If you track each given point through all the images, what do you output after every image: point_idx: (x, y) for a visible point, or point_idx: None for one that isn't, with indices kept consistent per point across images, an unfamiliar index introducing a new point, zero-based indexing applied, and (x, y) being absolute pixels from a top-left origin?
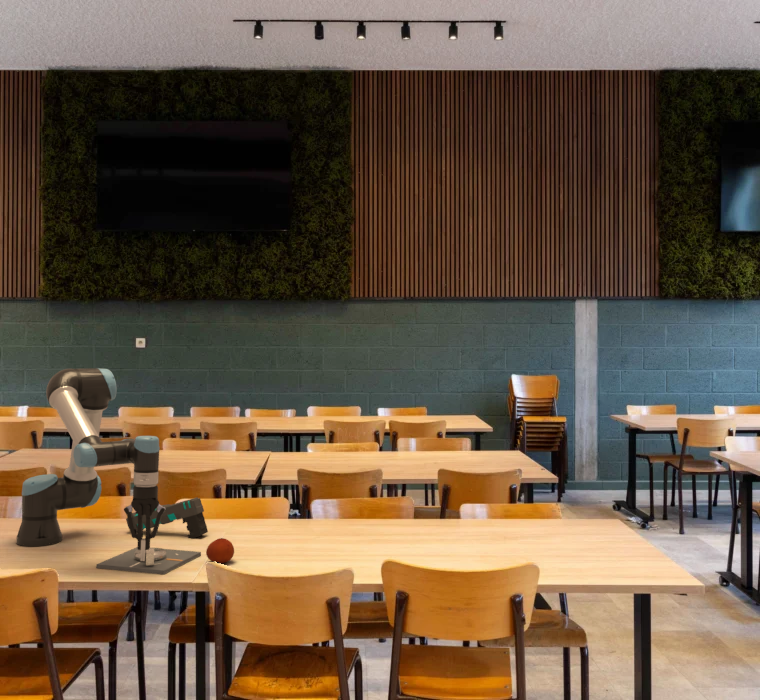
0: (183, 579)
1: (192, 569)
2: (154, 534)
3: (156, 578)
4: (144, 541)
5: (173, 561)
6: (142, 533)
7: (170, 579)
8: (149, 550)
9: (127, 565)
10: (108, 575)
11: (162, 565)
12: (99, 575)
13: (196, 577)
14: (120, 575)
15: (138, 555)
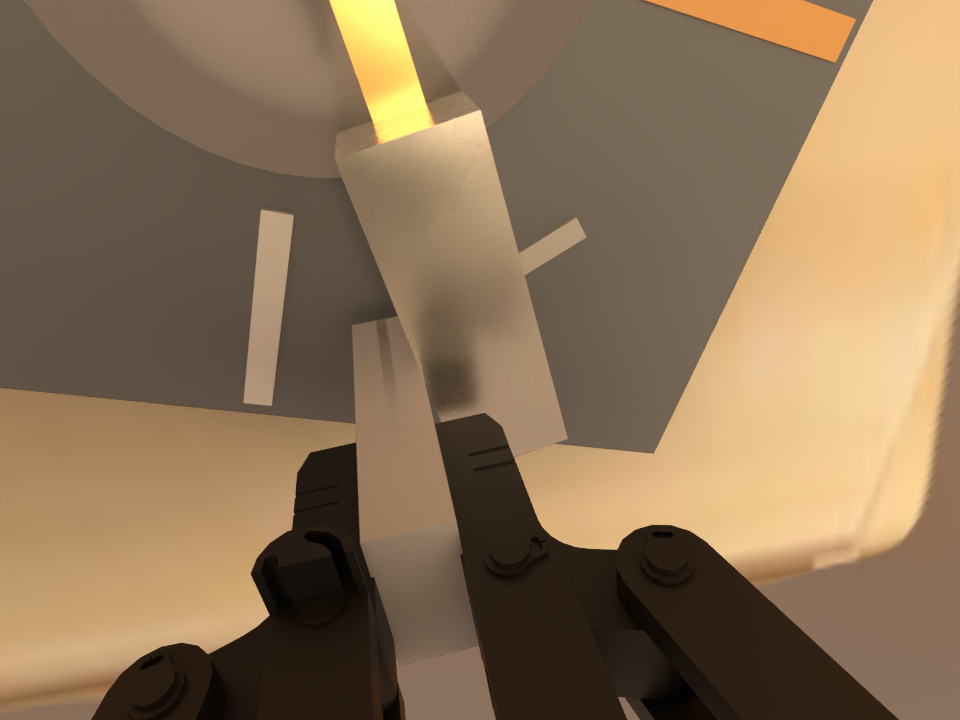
0: (798, 509)
1: (897, 239)
2: (704, 707)
3: (595, 524)
4: (462, 629)
5: (725, 89)
6: (376, 693)
7: (705, 525)
8: (446, 288)
9: (179, 345)
10: (122, 531)
11: (611, 292)
12: (27, 546)
13: (895, 454)
14: (243, 512)
15: (195, 140)
